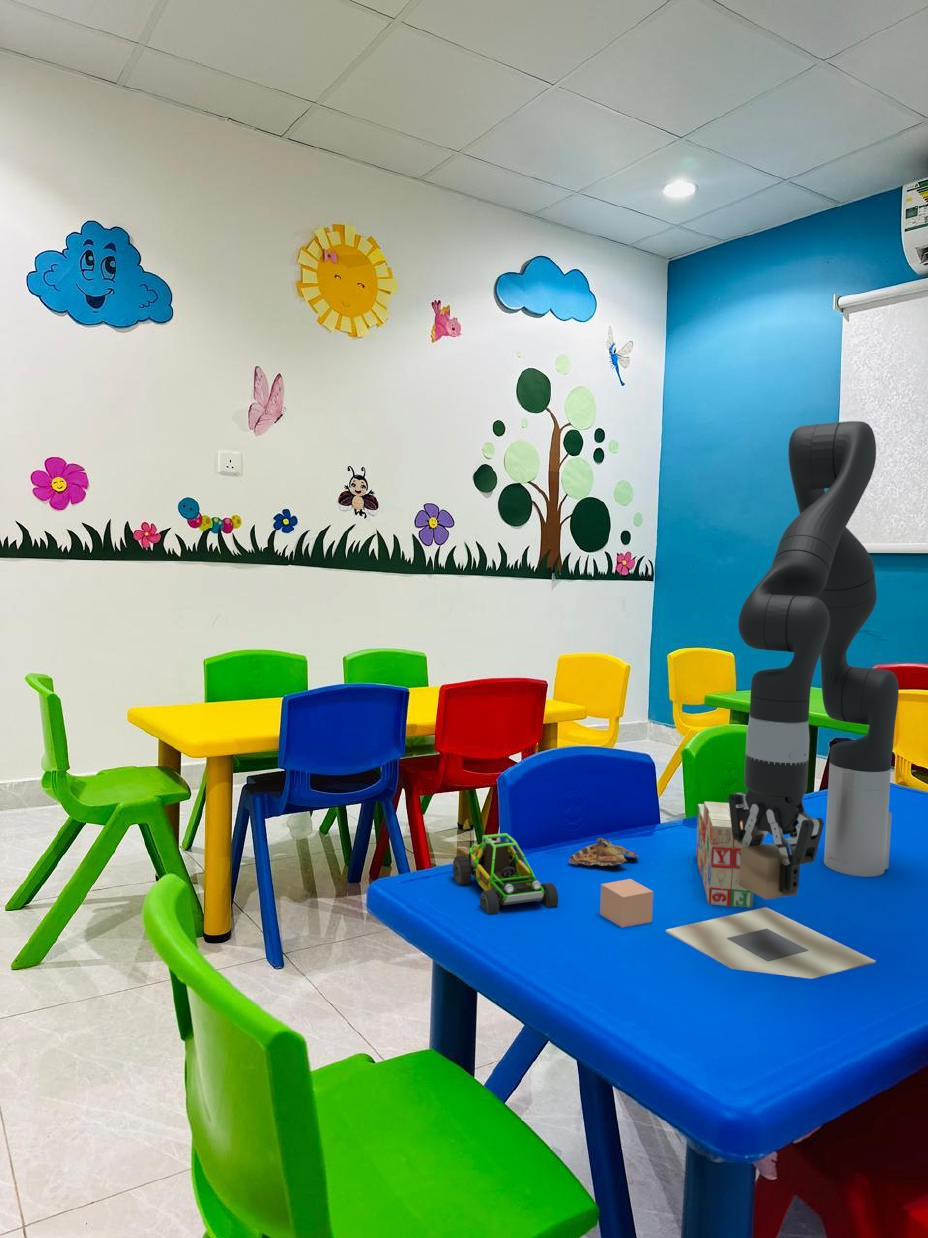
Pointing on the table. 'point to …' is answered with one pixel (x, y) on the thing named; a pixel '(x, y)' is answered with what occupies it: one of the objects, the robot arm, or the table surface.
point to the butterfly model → (601, 854)
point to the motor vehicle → (501, 874)
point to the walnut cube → (761, 870)
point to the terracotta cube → (626, 903)
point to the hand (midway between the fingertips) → (769, 884)
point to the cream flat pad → (769, 945)
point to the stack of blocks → (720, 856)
